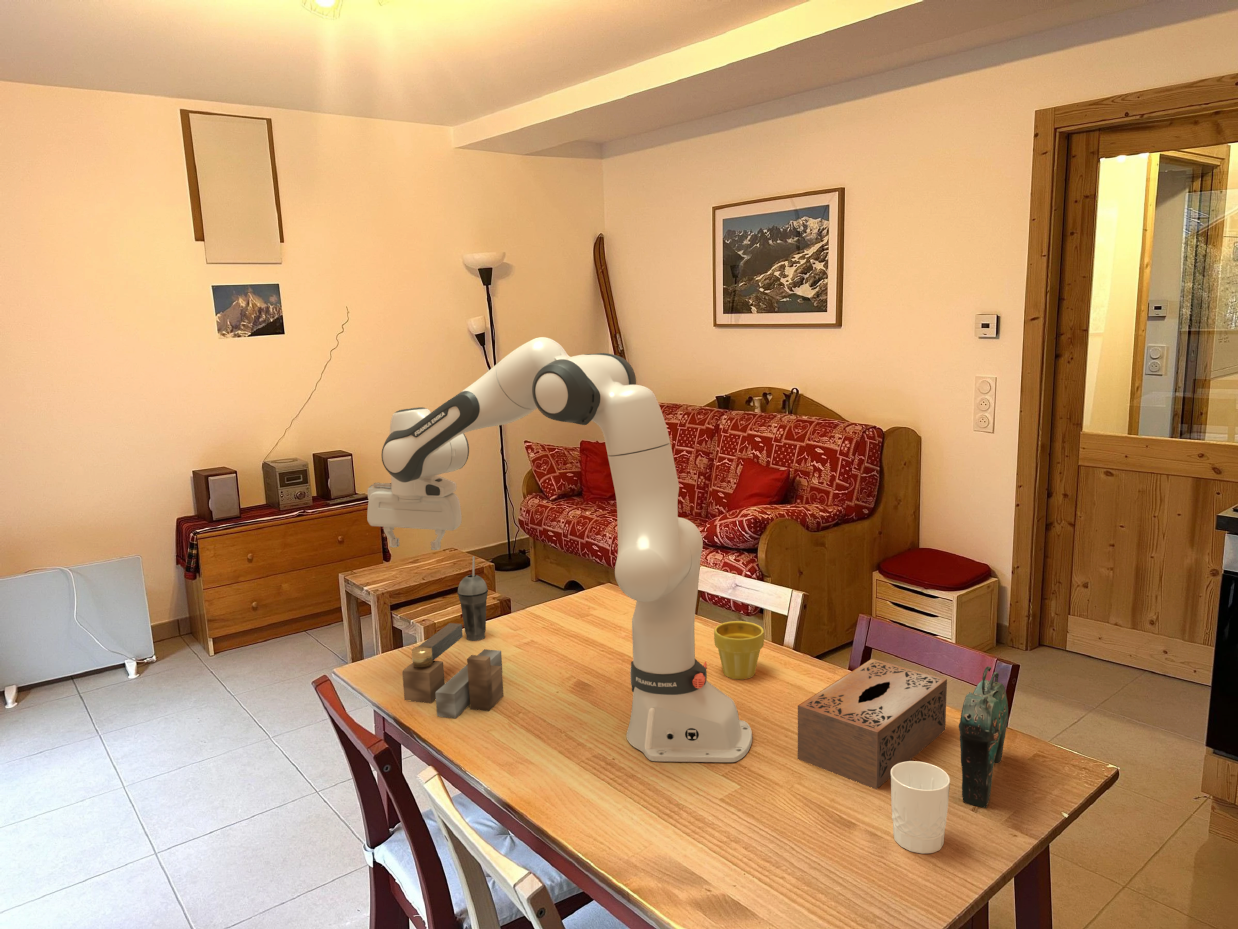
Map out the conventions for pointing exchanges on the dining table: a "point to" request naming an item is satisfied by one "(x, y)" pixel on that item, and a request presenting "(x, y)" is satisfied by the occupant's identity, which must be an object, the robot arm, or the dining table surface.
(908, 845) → the white cup
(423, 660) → the bar
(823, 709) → the tissue box cover
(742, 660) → the plant pot
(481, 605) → the beverage cup
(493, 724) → the dining table surface
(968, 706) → the dark green upright piece
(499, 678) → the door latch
